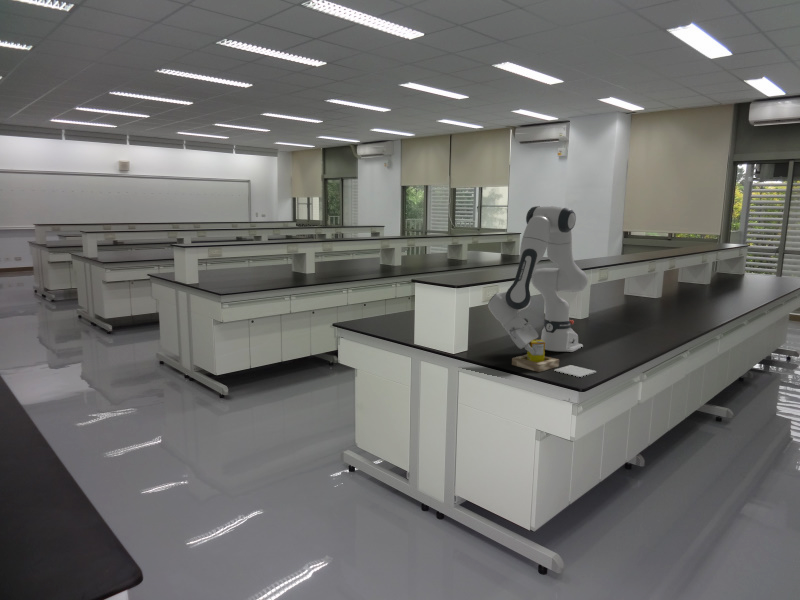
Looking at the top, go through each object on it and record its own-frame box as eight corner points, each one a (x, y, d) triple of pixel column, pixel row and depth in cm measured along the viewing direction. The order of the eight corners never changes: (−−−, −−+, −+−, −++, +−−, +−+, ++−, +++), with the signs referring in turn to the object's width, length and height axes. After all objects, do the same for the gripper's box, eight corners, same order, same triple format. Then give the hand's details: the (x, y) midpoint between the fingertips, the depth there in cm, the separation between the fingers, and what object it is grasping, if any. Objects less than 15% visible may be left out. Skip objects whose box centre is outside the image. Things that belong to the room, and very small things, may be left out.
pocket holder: (531, 359, 238) (532, 353, 237) (558, 366, 227) (559, 359, 227) (511, 364, 229) (512, 358, 228) (539, 372, 218) (539, 364, 218)
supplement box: (540, 363, 231) (541, 339, 229) (544, 367, 225) (545, 342, 224) (526, 363, 231) (527, 339, 229) (530, 367, 225) (531, 342, 223)
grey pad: (570, 366, 227) (570, 364, 227) (596, 372, 218) (596, 371, 218) (554, 371, 220) (554, 369, 220) (580, 377, 211) (580, 376, 211)
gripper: (513, 325, 220) (535, 351, 216) (528, 318, 237) (549, 342, 234) (502, 334, 223) (524, 360, 219) (518, 326, 240) (538, 350, 237)
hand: (537, 351), depth 227 cm, fingers closed on supplement box, 8 cm apart
